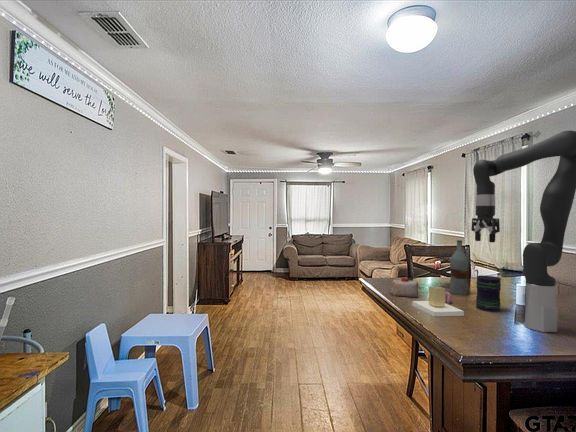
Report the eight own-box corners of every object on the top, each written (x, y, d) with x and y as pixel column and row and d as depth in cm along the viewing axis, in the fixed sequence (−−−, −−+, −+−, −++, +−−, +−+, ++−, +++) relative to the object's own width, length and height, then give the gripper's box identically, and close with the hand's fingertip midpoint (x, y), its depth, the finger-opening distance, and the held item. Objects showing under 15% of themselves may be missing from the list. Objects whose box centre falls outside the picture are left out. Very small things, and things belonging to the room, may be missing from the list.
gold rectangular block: (445, 306, 150) (445, 288, 150) (434, 306, 149) (435, 288, 149) (438, 303, 155) (438, 286, 155) (428, 303, 154) (428, 286, 154)
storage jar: (504, 312, 150) (504, 279, 150) (480, 311, 152) (480, 278, 152) (495, 307, 159) (495, 276, 159) (472, 305, 161) (473, 274, 161)
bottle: (450, 294, 184) (451, 240, 184) (447, 291, 193) (448, 239, 193) (469, 296, 181) (470, 241, 182) (465, 292, 190) (466, 240, 190)
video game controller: (451, 306, 165) (453, 292, 168) (449, 303, 162) (451, 289, 165) (431, 302, 172) (433, 289, 174) (428, 300, 169) (430, 286, 171)
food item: (391, 296, 178) (391, 278, 178) (391, 293, 185) (391, 275, 185) (418, 298, 174) (418, 279, 174) (417, 295, 181) (417, 277, 181)
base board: (463, 315, 144) (463, 311, 144) (433, 316, 142) (433, 311, 142) (439, 304, 162) (439, 300, 162) (412, 305, 160) (412, 301, 160)
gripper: (505, 204, 141) (504, 243, 141) (481, 205, 155) (480, 240, 155) (489, 204, 140) (488, 242, 140) (466, 205, 154) (466, 240, 154)
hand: (484, 241), depth 147 cm, fingers open, 8 cm apart
